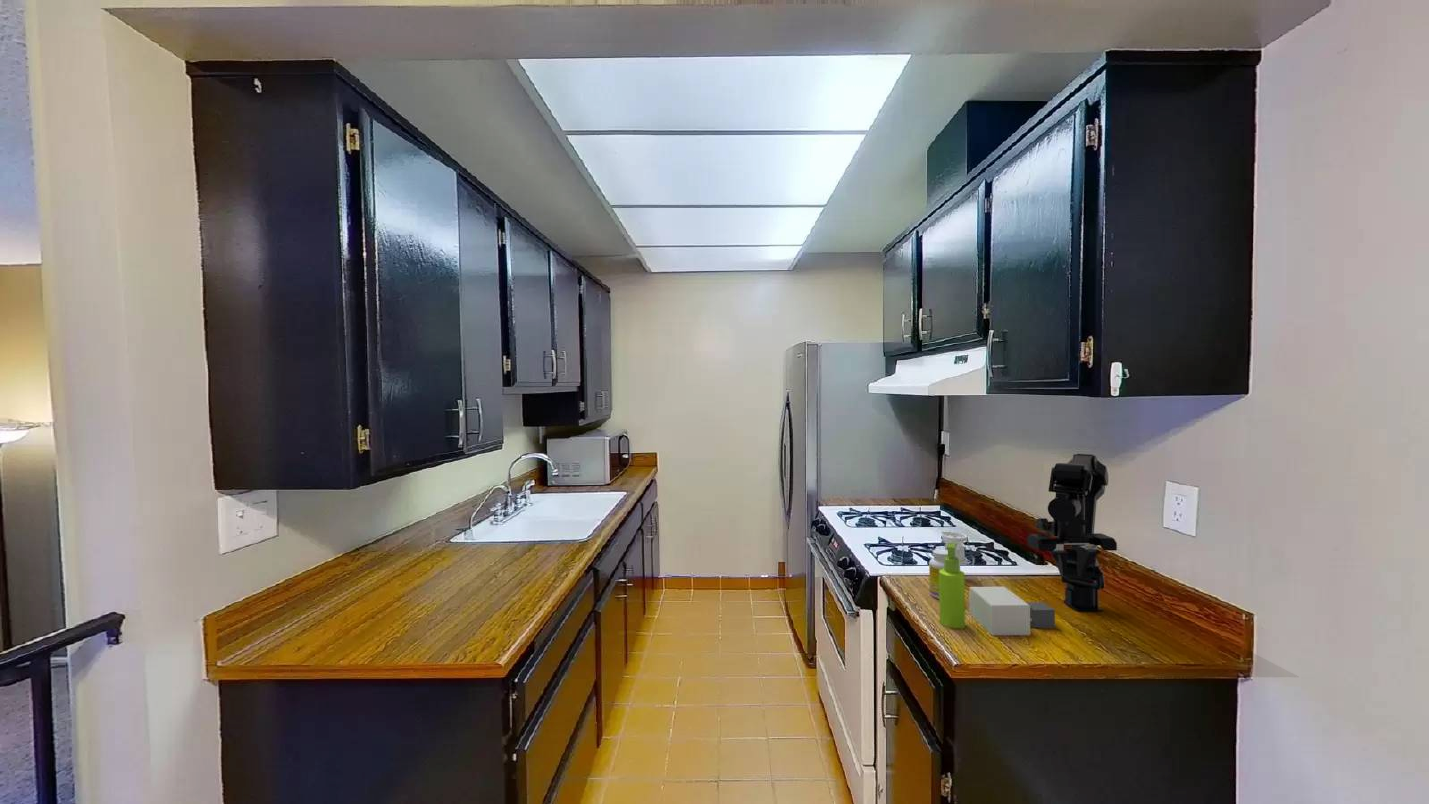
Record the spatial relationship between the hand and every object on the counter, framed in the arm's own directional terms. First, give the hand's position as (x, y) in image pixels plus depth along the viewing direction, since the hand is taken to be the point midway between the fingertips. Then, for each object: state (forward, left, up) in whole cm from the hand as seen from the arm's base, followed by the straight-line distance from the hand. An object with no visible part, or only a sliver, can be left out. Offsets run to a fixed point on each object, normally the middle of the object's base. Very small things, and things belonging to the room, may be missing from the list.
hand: (1071, 576), depth 130 cm
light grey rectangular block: (+18, 0, -12) cm, 22 cm away
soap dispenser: (+29, -1, -12) cm, 31 cm away
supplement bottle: (+25, -18, -12) cm, 33 cm away
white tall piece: (+16, -31, -12) cm, 37 cm away
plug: (+8, 0, -12) cm, 15 cm away
